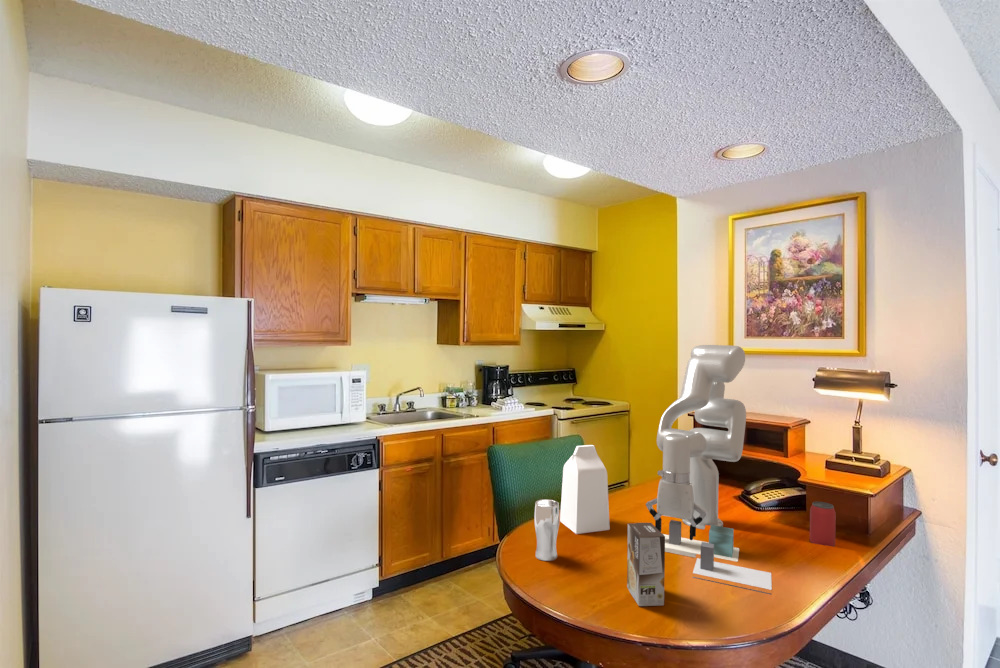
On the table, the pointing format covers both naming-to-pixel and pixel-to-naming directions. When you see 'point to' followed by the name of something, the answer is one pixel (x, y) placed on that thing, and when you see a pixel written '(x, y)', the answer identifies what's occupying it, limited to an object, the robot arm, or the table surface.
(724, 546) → the block
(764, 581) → the empty strip
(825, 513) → the beer can
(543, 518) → the beer glass
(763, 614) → the table surface
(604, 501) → the milk
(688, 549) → the strip
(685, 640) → the table surface
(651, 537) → the coffee box
